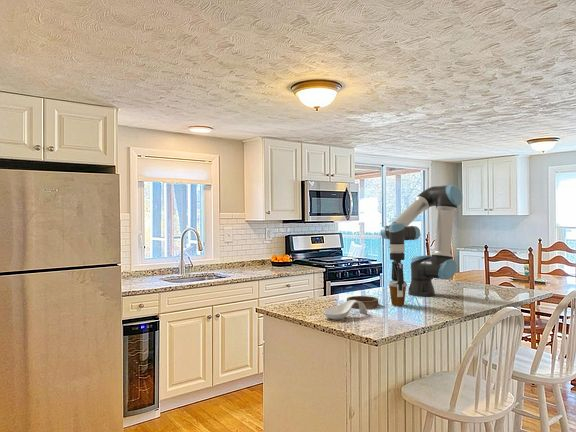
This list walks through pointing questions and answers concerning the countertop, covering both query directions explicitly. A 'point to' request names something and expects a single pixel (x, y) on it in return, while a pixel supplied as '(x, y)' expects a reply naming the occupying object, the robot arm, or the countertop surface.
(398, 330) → the countertop surface
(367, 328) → the countertop surface
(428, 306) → the countertop surface
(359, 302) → the spoon rest
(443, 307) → the countertop surface
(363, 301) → the brown round dish
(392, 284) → the disposable coffee cup
